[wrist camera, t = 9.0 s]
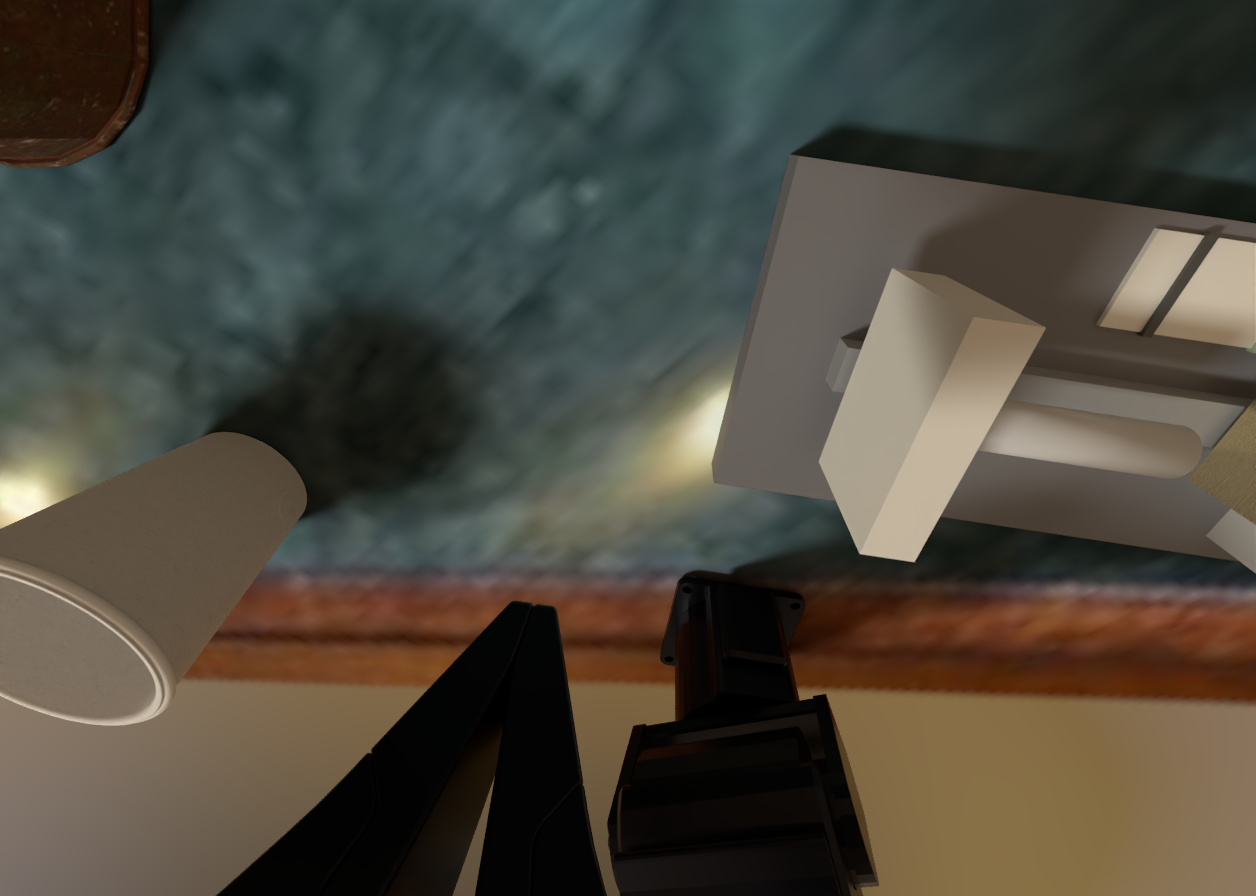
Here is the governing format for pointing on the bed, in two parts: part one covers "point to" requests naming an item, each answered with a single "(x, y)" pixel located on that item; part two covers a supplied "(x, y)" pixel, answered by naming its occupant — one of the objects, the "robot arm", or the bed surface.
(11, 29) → the oil lamp
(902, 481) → the plunger
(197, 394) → the bed surface
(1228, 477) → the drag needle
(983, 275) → the base
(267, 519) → the dixie cup
